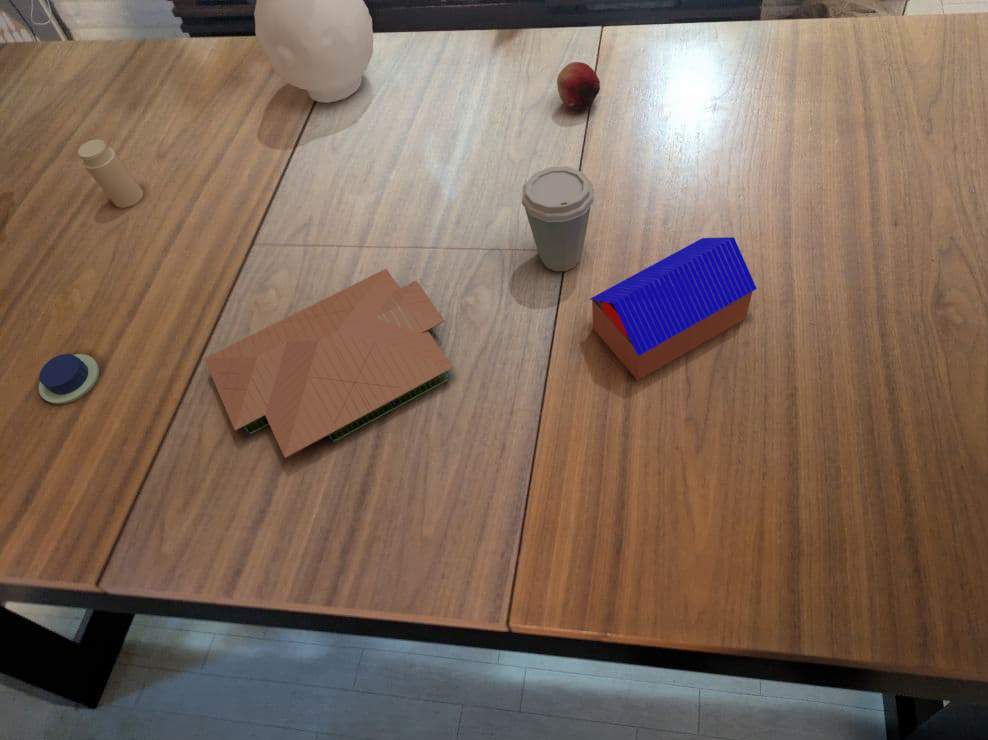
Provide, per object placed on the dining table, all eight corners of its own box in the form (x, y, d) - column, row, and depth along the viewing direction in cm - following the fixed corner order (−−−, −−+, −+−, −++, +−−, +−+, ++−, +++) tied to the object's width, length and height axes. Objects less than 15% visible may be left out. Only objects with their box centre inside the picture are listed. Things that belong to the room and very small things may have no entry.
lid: (96, 368, 109) (87, 359, 107) (70, 399, 107) (60, 391, 105) (67, 357, 111) (58, 349, 109) (40, 388, 108) (30, 380, 106)
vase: (361, 125, 136) (302, -40, 110) (268, 109, 141) (191, -51, 116) (403, 67, 144) (357, -98, 119) (313, 54, 150) (251, -106, 124)
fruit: (585, 87, 135) (583, 48, 129) (608, 107, 132) (608, 68, 125) (551, 104, 134) (547, 64, 127) (573, 124, 130) (571, 85, 123)
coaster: (39, 411, 107) (36, 409, 106) (43, 366, 111) (40, 364, 111) (98, 394, 107) (96, 391, 107) (100, 349, 112) (97, 347, 111)
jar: (113, 211, 129) (74, 162, 120) (113, 191, 132) (75, 142, 123) (143, 202, 130) (107, 153, 120) (143, 183, 133) (107, 133, 123)
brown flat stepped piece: (473, 371, 103) (463, 337, 96) (263, 485, 96) (236, 458, 90) (407, 274, 114) (393, 238, 107) (214, 370, 108) (187, 338, 101)
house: (749, 318, 104) (763, 263, 94) (636, 383, 99) (639, 333, 90) (698, 268, 109) (706, 212, 99) (590, 328, 105) (587, 275, 95)
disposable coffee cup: (524, 240, 116) (513, 167, 103) (587, 226, 116) (584, 151, 103) (537, 288, 110) (527, 217, 98) (604, 273, 111) (602, 200, 98)
